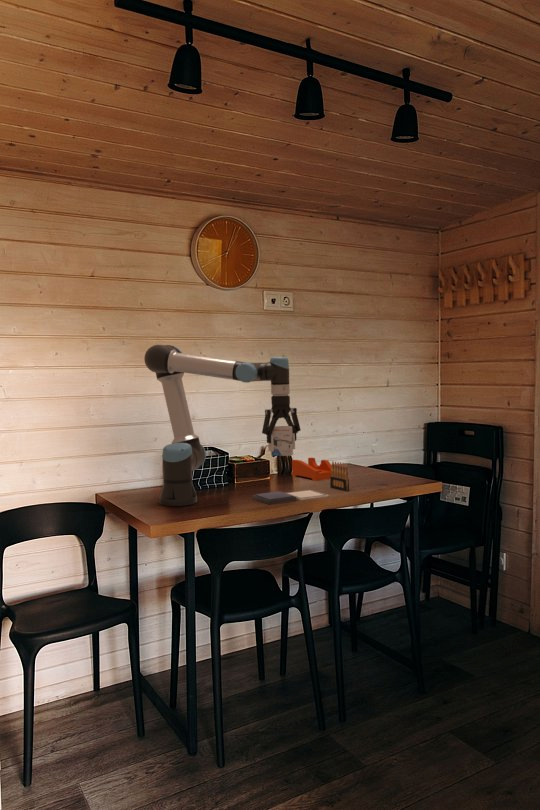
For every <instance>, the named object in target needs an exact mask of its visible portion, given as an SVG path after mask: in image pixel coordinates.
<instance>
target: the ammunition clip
mask: <svg viewBox="0 0 540 810" xmlns="http://www.w3.org/2000/svg"><path fill="white" fill-rule="evenodd" d="M331 465H332V469H331V477H330V479H329V481H330V483H329V484H330V488H331V489H334V490H339V491H343V492H350V479H349V472H348V464H347V463H344V462H337V461H333V460H332V461H331Z"/></svg>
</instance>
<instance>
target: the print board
mask: <svg viewBox="0 0 540 810" xmlns="http://www.w3.org/2000/svg"><path fill="white" fill-rule="evenodd" d="M285 493H286V494H289V495H292V496H295V497H296V500H298V501H305V500H312V499H318V498H319V499H320V498H327V497H329V496H330V495H329V494H326V493H323V492H320V491H315V490H313V489H305V490H297V491H296V490H295V491H289V492H285Z"/></svg>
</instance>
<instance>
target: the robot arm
mask: <svg viewBox="0 0 540 810" xmlns="http://www.w3.org/2000/svg"><path fill="white" fill-rule="evenodd" d="M143 358H144V359H143V360H144V364H145V366H146V368H147V369H148V370H149V371H150V372H152V373H155V375H156V381H158V382H160V383H161V386H162V390H163V394H164V398H165V399H164V400H165V403H166V407H167V412H168V417H169V421H170V424H171V425H170V426H171V431H172V434H173V439H172V441H171V443H169V444H166V445H165V446H163V448H162V453H161V456H162V479H163V480H162V481H163V483H162V487H161V491H160V494H159V499H158V500H159V502H158V503H159V504H160V505H161V506H166V507H183V506H191V505H194V504H197V502H198V495H197V491H196V490H195V487H194V484H193V471H197V470H198V469H200V468H201V466H203V464H204V463H205V461H206V458H207V453H206V449H205V447H204V446H203V445H202V444H201V441H200V438H199V435H197V434H196V433H195V431H194V427H193V423H192V418H191V415H190V410H189V409H190V408H189V405H188V401H187V397H186V391H185V388H184V384H183V376H184V375H185V374H193V375H198V376H204V377H212V378H217V379H224V380H225V379H226V380H232V381H237V382H238V381H239V382H242V383H251V382H266V381H267V382H268V381H270V394H271V395H272V396H271V401H270V402H271V408H269V409H267V408H265V409H264V420H263V426H262V431H261V434H264V435H266V443H267V444H268V452H271V451H272V452H273V451H274V445H273V435H271V434H272V432H273V429H274V427H275V426H277V422H278V420H279V419H284V420H285V422H286V423H287V426H292V435H293V450H296V441H297V434H298V433H299V432H301V427H300V422H299V419H298V415H297V414H298V413H297V411H298V409H297V407H291V405H290V404H291V396H290V392H291V391H290V365H289V362H290V361H289V358H288V357H286V356H278V357H277V356H274V357H270V360H269V362H246V361H241V360H240V361H237V360H231V359H225V358H218V357H211V356H210V357H209V356H205V355H204V356H203V355H196V354H190V353H183V352H182V351H181V350H180V348H178V347H176V346H174V345H170V344H154V345H152V346H150V347H149V348H148V349H147V350H146V351H145V354H144V357H143ZM290 414H291V416H290Z"/></svg>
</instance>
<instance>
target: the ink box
mask: <svg viewBox="0 0 540 810" xmlns="http://www.w3.org/2000/svg"><path fill="white" fill-rule="evenodd" d="M271 435H273V445H274V451H273V452H272V451H270V455H271V456H273V457H278V456H279V457H281V456H282V457H284V456H285V457H291V456H293V454H294V449H293V435H292V426H288V425H275V427H274V429H273V432H272V434H271Z"/></svg>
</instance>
